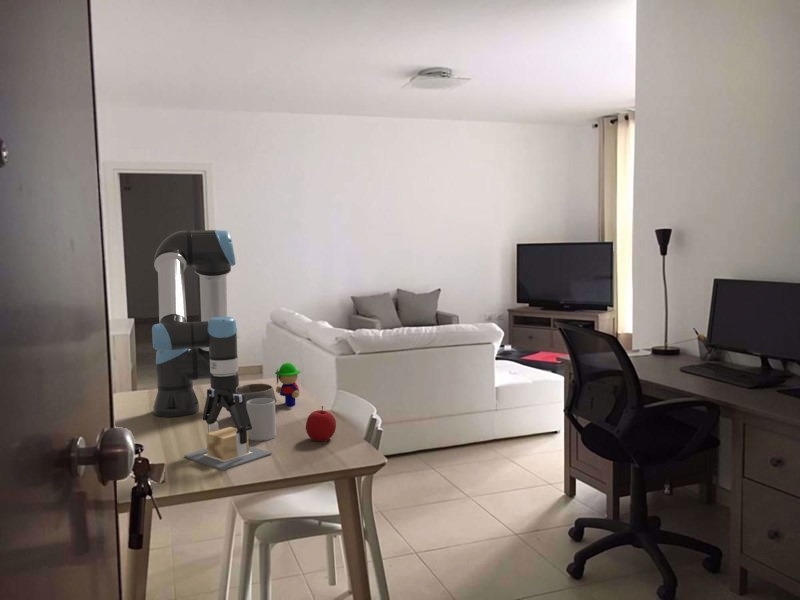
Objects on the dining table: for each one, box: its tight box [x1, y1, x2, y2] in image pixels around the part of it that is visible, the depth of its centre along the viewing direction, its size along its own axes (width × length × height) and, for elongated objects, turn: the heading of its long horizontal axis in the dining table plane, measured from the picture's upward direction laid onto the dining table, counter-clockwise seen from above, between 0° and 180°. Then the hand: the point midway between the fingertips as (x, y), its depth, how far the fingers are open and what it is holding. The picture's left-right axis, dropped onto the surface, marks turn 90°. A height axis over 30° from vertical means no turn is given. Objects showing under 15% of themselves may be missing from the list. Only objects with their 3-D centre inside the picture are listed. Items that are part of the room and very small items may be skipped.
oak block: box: [206, 426, 249, 460], centre depth 192 cm, size 8×8×6 cm
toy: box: [274, 362, 301, 407], centre depth 247 cm, size 11×9×15 cm
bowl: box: [233, 383, 278, 408], centre depth 231 cm, size 14×15×10 cm
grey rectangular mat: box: [184, 445, 273, 471], centre depth 192 cm, size 18×16×1 cm
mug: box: [246, 398, 277, 442], centre depth 210 cm, size 12×8×11 cm
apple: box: [305, 405, 337, 442], centre depth 205 cm, size 9×9×10 cm
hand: (227, 450), depth 192 cm, fingers open, 12 cm apart
